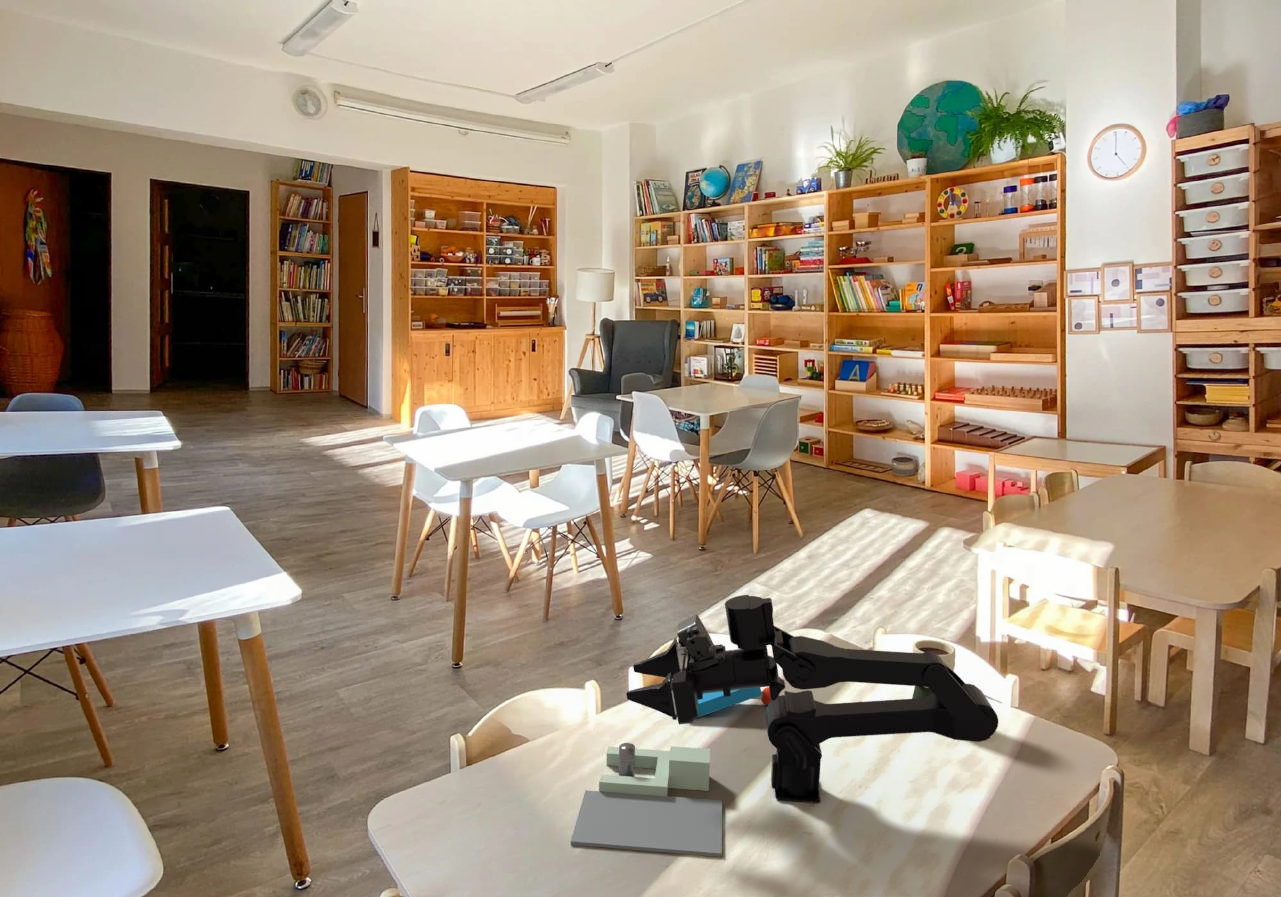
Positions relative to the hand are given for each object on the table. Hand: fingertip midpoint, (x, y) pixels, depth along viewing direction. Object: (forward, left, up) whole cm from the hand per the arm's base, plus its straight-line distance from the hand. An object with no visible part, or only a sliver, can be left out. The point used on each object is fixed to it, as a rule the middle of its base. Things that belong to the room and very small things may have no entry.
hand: (630, 681), depth 127 cm
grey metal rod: (0, 0, -16) cm, 16 cm away
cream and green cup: (-50, -26, -16) cm, 59 cm away
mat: (-4, +11, -16) cm, 20 cm away
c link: (-4, 0, -16) cm, 16 cm away
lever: (-15, -25, -16) cm, 33 cm away
